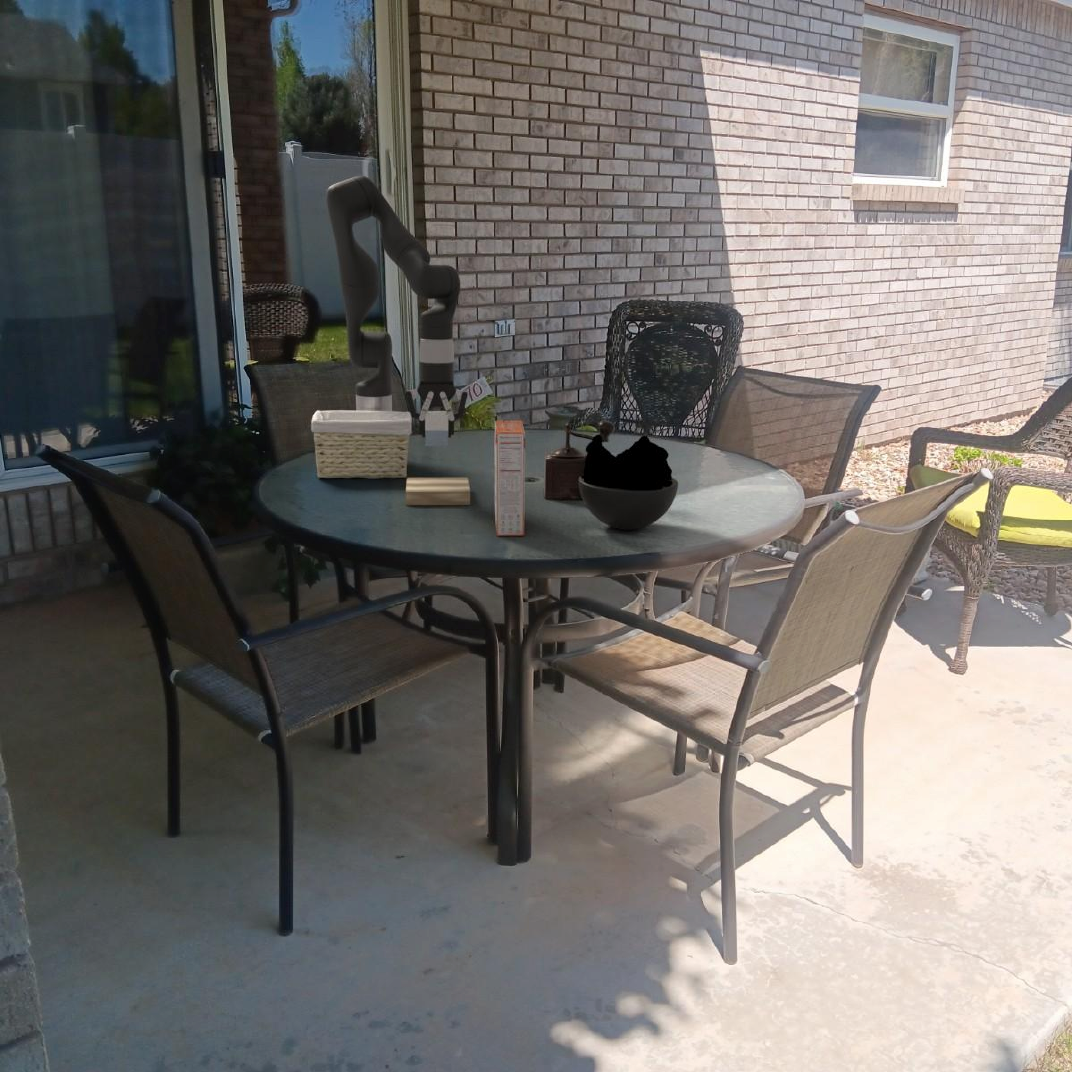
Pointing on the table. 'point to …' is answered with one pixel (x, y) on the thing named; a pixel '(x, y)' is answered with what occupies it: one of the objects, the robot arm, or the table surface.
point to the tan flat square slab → (437, 491)
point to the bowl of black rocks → (627, 484)
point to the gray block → (436, 428)
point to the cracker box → (509, 477)
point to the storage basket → (361, 443)
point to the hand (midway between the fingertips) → (436, 436)
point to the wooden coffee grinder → (568, 465)
